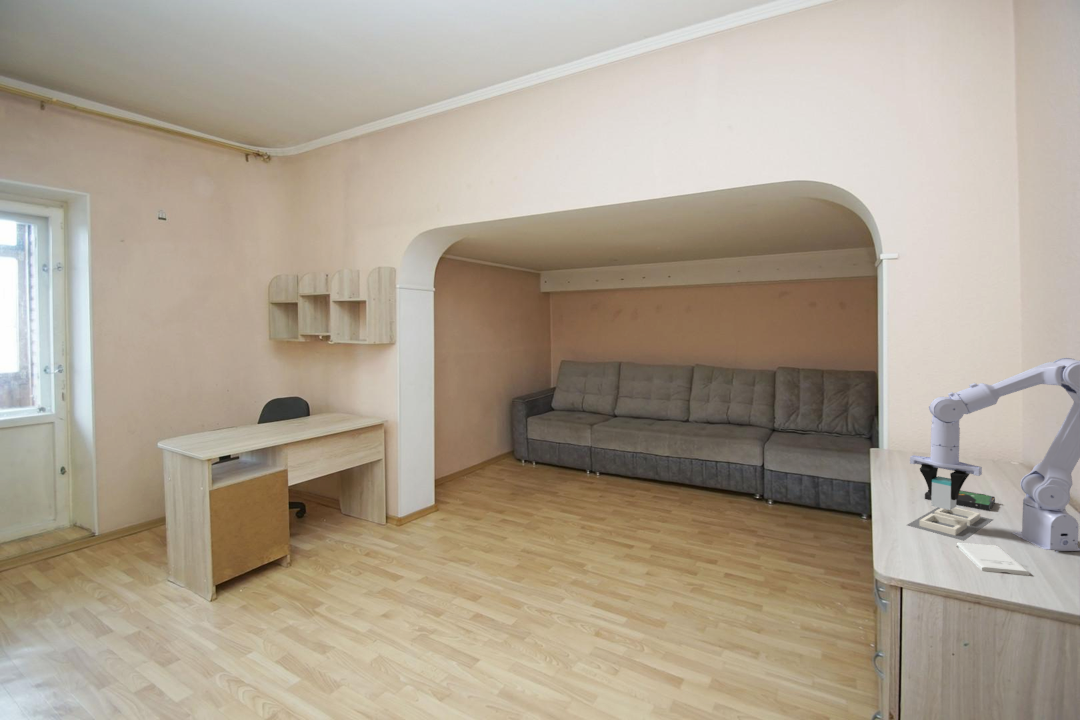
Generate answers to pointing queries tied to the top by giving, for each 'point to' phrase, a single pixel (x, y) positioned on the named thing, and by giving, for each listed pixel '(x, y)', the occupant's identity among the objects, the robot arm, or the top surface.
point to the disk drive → (972, 500)
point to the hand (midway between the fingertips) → (943, 496)
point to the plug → (942, 493)
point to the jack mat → (962, 534)
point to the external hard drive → (991, 558)
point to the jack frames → (950, 520)
